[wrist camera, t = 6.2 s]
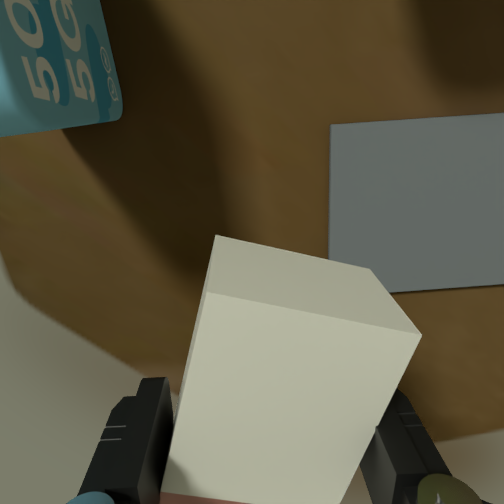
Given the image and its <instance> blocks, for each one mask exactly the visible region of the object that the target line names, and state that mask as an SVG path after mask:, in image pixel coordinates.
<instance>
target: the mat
mask: <svg viewBox="0 0 504 504" xmlns="http://www.w3.org/2000/svg"><path fill="white" fill-rule="evenodd" d="M328 260H332V261H336V262H341V263H345V264H350V265H354V266H359V267H363V268H368V269H370V270H371V271H372V272H373V274H374V275H375V276H376V277H377V279H378V280H379V281H380V283H381V284H382V285H383V286H384V288H385V289H386V290H387V291H388V293H389V292H403V291H416V290H429V289H443V288H456V287H470V286H483V285H496V284H504V113H493V114H479V115H464V116H449V117H435V118H420V119H406V120H391V121H377V122H362V123H347V124H333V125H330V157H329V230H328Z"/></svg>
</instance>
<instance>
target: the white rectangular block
mask: <svg viewBox="0 0 504 504" xmlns="http://www.w3.org/2000/svg"><path fill="white" fill-rule="evenodd" d="M421 337H422V334H421V333H420V332H419V331H418V329H417V328H416V327H415V326H414V324H413V323H412V322H411V321H410V319H409V318H408V317H407V315H406V314H405V313H404V312H403V310H402V309H401V308H400V307H399V305H398V304H397V303H396V302H395V300H394V299H393V298H392V296H391V295H390V294H389V293H388V291H387V290H386V289H385V288H384V286H383V285H382V284H381V283H380V281H379V280H378V279H377V277H376V276H375V275H374V274H373V272H372V271H371V270H370V269H368V268H363V267H359V266H354V265H350V264H345V263H341V262H336V261H332V260H327V259H323V258H318V257H314V256H309V255H305V254H300V253H296V252H291V251H287V250H282V249H278V248H273V247H268V246H264V245H259V244H255V243H250V242H246V241H241V240H237V239H232V238H228V237H223V236H219V235H215V240H214V244H213V248H212V253H211V257H210V262H209V266H208V270H207V275H206V279H205V284H204V288H203V292H202V297H201V301H200V306H199V310H198V314H197V319H196V323H195V328H194V332H193V337H192V341H191V345H190V350H189V354H188V359H187V363H186V367H185V372H184V376H183V381H182V385H181V389H180V394H179V398H178V403H177V407H176V412H175V416H174V420H173V429H172V434H171V439H170V445H169V450H168V455H167V460H166V465H165V470H164V475H163V481H162V486H161V491H160V504H340V502H341V500H342V498H343V496H344V494H345V492H346V490H347V488H348V486H349V484H350V482H351V480H352V477H353V476H354V473H355V472H356V469H357V467H358V465H359V463H360V461H361V459H362V457H363V455H364V453H365V451H366V449H367V447H368V445H369V443H370V441H371V439H372V437H373V435H374V433H375V427H376V426H378V425H379V422H380V420H381V418H382V416H383V414H384V412H385V410H386V408H387V406H388V404H389V402H390V400H391V398H392V396H393V394H394V392H395V390H396V388H397V386H398V384H399V382H400V380H401V377H402V375H403V373H404V371H405V369H406V367H407V365H408V363H409V361H410V359H411V357H412V355H413V353H414V351H415V349H416V347H417V345H418V343H419V341H420V339H421Z"/></svg>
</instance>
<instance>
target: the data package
mask: <svg viewBox="0 0 504 504" xmlns="http://www.w3.org/2000/svg"><path fill="white" fill-rule="evenodd" d="M122 110H123V103H122V95H121V90H120V85H119V81H118V77H117V73H116V68H115V64H114V60H113V55H112V51H111V47H110V42H109V38H108V34H107V29H106V25H105V21H104V17H103V12H102V8H101V4H100V0H0V137H4V136H11V135H19V134H27V133H34V132H42V131H49V130H55V129H62V128H69V127H76V126H82V125H89V124H96V123H103V122H109V121H116V120H118V119H119V118H120V117H121V115H122Z"/></svg>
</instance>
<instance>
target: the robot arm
mask: <svg viewBox="0 0 504 504" xmlns="http://www.w3.org/2000/svg"><path fill="white" fill-rule="evenodd" d="M172 429H173V410H172V402H171V395H170V387H169V380H168V378H167V377H156V378H143V379H142V380H141V383H140V385H139V388H138V391H137V394H136V396H127V397H123V398H122V400H121V401H120V402H119V403H118V404H117V405H116V406H115V407H114V408H113V409H112V411H111V413H110V416H109V419H108V421H107V423H106V428H105V429H104V431H103V433H102V436H101V440H100V442H99V443H98V446H97V448H96V451H95V453H94V456H93V458H92V461H91V463H90V466H89V468H88V471H87V473H86V476H85V478H84V481H83V483H82V486H81V488H80V490H79V493H78V495H77V497H75V498H74V499H72V500H70V501H69V502H68V503H66V504H160V491H161V486H162V481H163V475H164V470H165V465H166V460H167V455H168V450H169V445H170V439H171V434H172ZM359 465H360V468H361V470H362V473H363V476H364V479H365V482H366V485H367V488H368V491H369V494H370V497H371V500H372V503H373V504H491V503H488V502H486V501H483V500H481V499H480V498H479V496H478V495H477V494H476V493H475V492H474V491H473V490H472V489H471V488H470V487H469V486H468V485H466V484H465V483H464V482H462V481H460V480H458V479H456V478H454V477H453V476H452V474H451V473H450V471H449V469H448V468H447V466H446V465H445V462H444V461H443V459H442V457H441V455H440V454H439V452H438V450H437V449H436V447H435V445H434V443H433V442H432V440H431V438H430V436H429V435H428V433H427V431H426V429H425V428H424V427H423V426H422V422H421V421H420V419H419V417H418V415H417V414H415V410H414V409H413V407H412V405H411V403H410V402H409V400H408V398H407V397H406V396H405V395H404V394H403V393H402V392H401V391H399V390H398V389H397V388H396V390H395V392H394V394H393V396H392V398H391V400H390V402H389V404H388V406H387V408H386V410H385V412H384V414H383V416H382V418H381V420H380V422H379V425H378V426H376V427H375V433H374V435H373V437H372V439H371V441H370V443H369V445H368V447H367V449H366V451H365V453H364V455H363V457H362V459H361V461H360V463H359Z"/></svg>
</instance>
